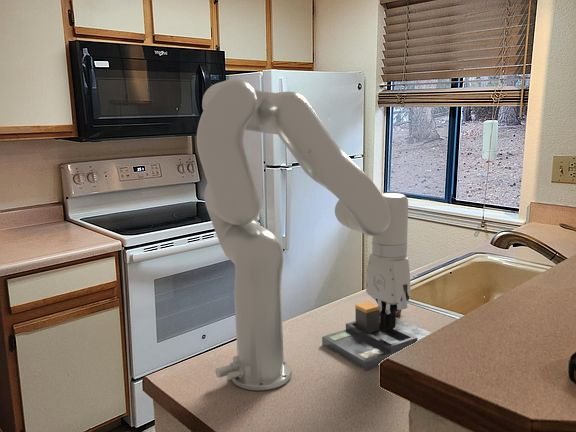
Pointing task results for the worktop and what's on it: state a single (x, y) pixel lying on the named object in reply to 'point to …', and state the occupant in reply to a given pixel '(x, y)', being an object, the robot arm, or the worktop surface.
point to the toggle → (367, 316)
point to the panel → (372, 342)
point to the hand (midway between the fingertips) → (387, 328)
